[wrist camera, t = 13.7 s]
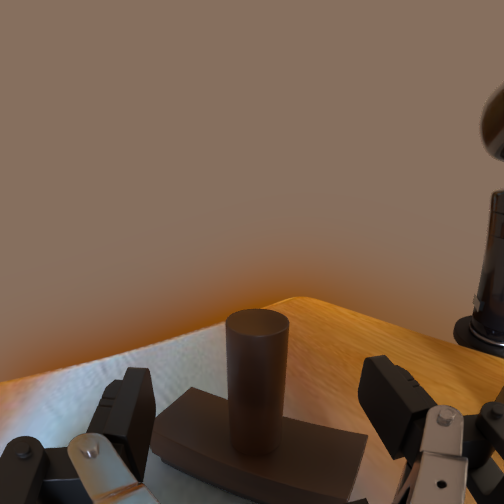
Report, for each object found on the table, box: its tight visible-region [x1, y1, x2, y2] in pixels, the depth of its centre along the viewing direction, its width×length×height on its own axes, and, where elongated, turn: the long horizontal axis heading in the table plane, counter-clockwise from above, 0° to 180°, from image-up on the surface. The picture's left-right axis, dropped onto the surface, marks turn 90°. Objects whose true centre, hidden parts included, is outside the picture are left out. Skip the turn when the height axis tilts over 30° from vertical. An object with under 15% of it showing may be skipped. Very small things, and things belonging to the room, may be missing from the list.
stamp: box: [150, 309, 368, 504], centre depth 15 cm, size 5×12×11 cm, turn 64°
